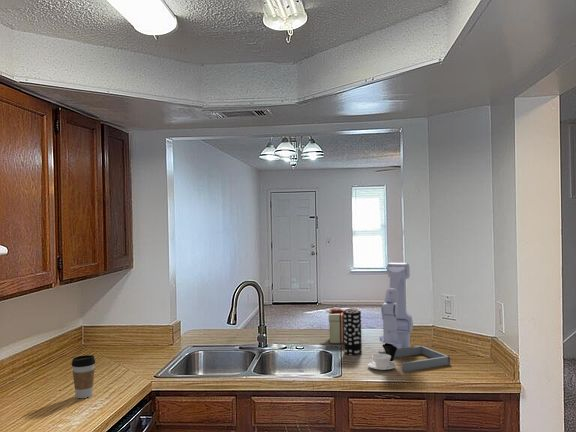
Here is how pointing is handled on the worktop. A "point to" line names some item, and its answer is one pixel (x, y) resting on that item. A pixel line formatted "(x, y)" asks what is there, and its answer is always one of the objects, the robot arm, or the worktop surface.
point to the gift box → (337, 324)
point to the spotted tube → (352, 332)
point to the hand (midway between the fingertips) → (390, 360)
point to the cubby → (435, 360)
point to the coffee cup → (83, 375)
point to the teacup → (381, 362)
